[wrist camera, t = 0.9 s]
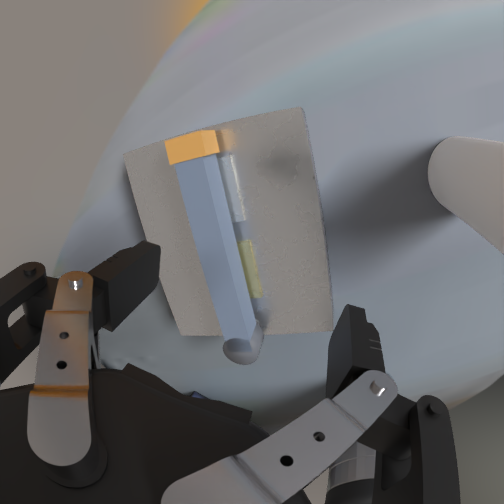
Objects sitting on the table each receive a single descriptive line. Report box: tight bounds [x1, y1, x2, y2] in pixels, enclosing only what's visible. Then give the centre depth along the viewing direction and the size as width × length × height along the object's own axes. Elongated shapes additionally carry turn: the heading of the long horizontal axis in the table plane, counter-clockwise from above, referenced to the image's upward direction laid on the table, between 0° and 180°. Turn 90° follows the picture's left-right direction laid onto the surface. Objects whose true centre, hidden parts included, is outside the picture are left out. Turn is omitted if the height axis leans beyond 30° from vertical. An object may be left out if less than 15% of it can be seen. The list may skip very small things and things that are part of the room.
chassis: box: [123, 107, 333, 336], centre depth 30 cm, size 22×18×6 cm
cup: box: [428, 136, 504, 255], centre depth 18 cm, size 8×8×16 cm
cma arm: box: [164, 130, 264, 365], centre depth 26 cm, size 22×4×3 cm, turn 12°
